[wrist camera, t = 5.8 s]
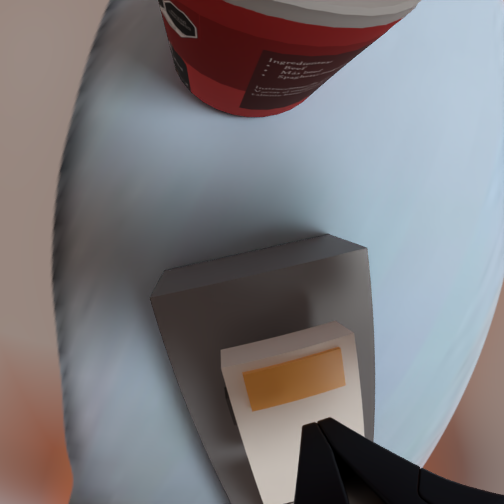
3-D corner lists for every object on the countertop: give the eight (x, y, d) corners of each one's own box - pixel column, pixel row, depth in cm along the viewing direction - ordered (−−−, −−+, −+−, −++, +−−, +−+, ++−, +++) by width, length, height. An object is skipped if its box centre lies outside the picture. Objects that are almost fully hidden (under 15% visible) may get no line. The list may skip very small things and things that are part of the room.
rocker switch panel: (347, 517, 23) (363, 553, 18) (264, 540, 22) (272, 578, 17) (328, 234, 17) (377, 251, 12) (164, 270, 16) (145, 305, 11)
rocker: (351, 455, 12) (368, 480, 10) (259, 482, 12) (265, 511, 10) (335, 320, 12) (356, 334, 10) (220, 349, 11) (220, 370, 9)
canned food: (206, -11, 14) (215, -152, 3) (332, 34, 15) (437, -72, 4) (149, 93, 15) (76, -34, 4) (292, 143, 16) (419, 77, 5)
